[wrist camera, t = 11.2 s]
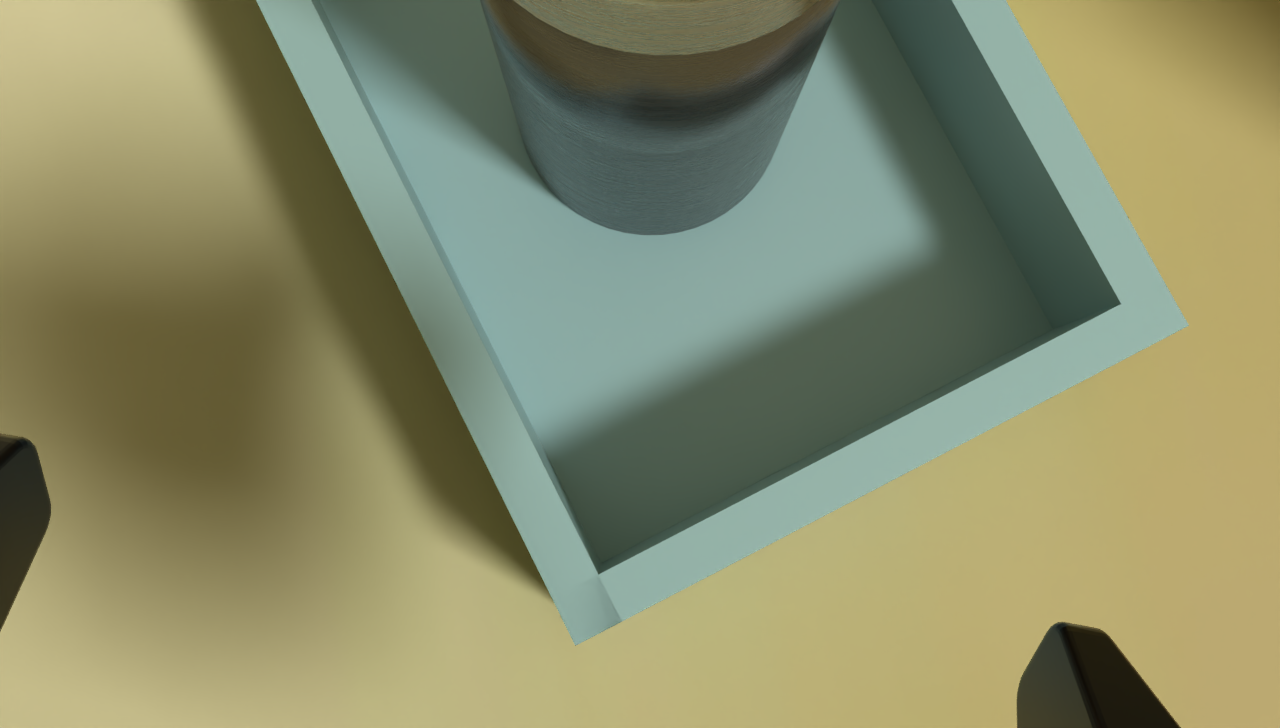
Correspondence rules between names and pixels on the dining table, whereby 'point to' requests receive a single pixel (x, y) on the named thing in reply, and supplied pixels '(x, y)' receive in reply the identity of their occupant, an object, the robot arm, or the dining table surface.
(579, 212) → the cylinder
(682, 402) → the tray
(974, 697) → the dining table surface
